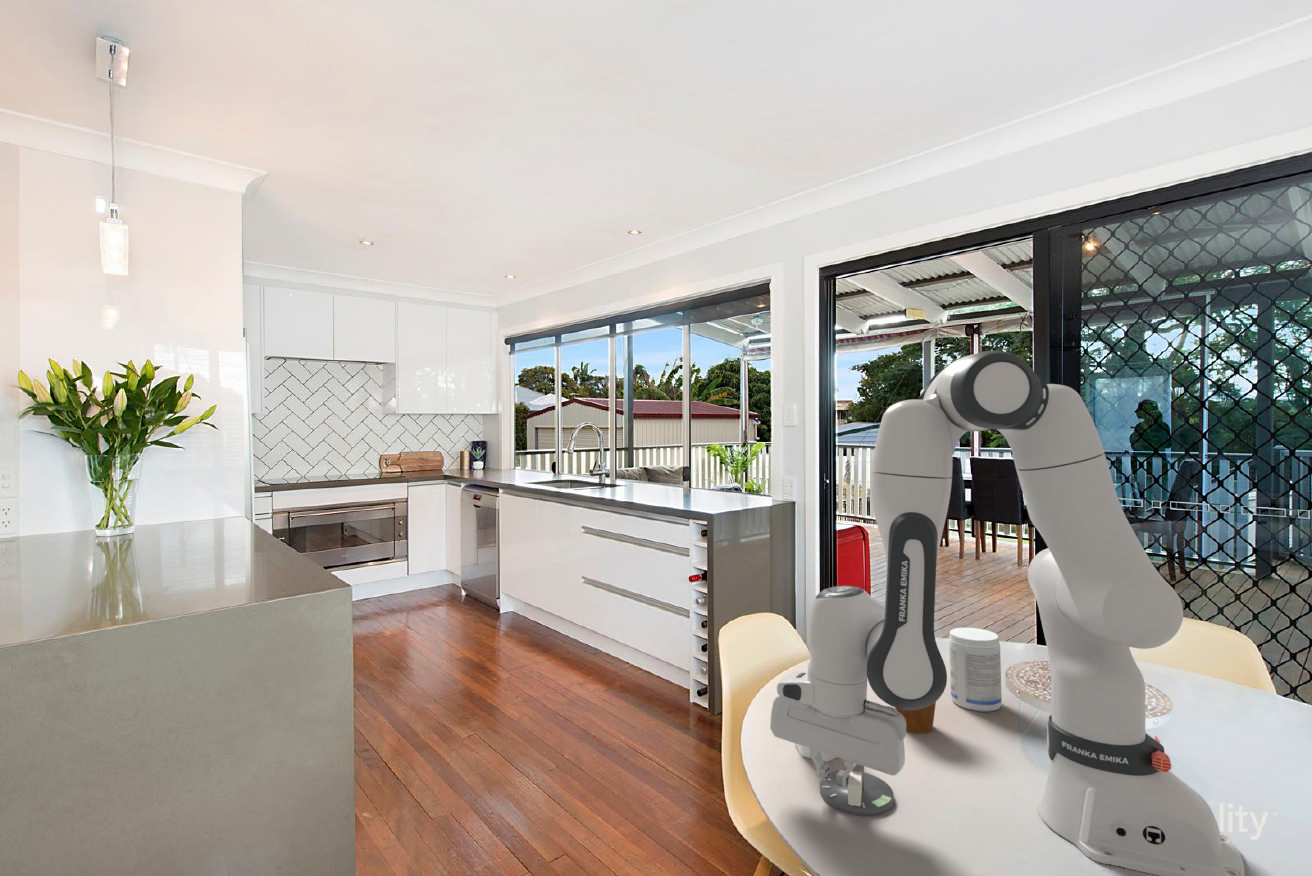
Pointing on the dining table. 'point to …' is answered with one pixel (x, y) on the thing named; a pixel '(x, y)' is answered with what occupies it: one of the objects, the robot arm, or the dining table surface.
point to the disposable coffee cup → (919, 719)
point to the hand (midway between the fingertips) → (833, 781)
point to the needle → (856, 785)
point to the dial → (873, 798)
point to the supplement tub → (975, 669)
